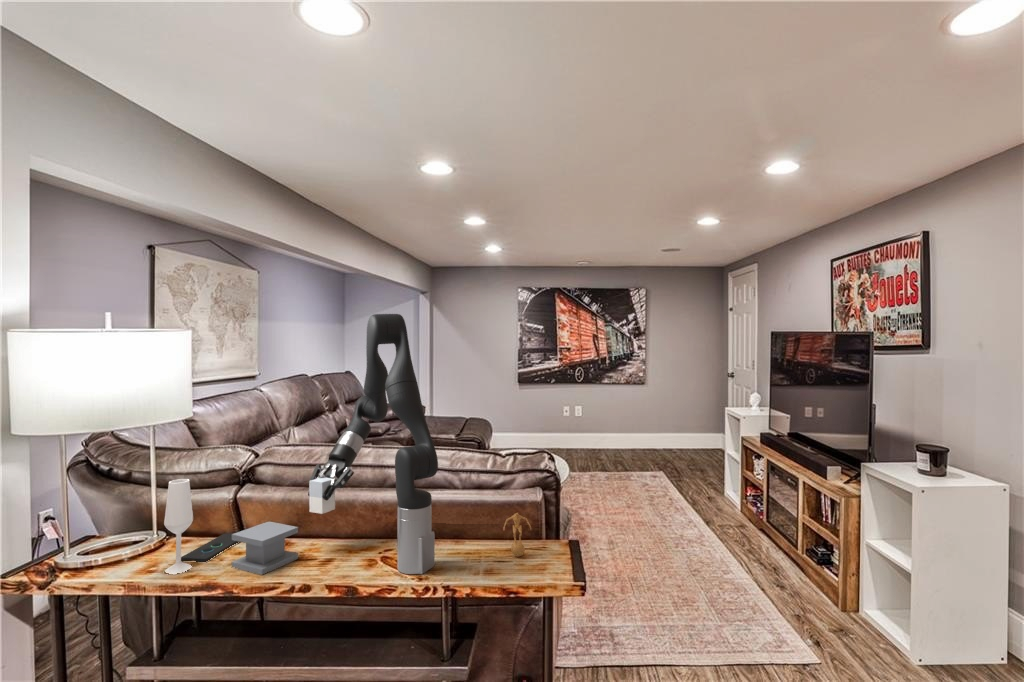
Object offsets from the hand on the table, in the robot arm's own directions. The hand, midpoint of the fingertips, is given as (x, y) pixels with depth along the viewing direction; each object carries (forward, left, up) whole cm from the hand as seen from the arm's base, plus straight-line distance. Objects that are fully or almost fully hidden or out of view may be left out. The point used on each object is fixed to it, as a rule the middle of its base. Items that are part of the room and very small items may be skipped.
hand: (317, 497), depth 151 cm
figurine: (-53, -25, -17) cm, 61 cm away
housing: (0, -2, -4) cm, 5 cm away
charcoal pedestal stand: (+9, +10, -17) cm, 22 cm away
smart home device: (+32, +9, -17) cm, 37 cm away
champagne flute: (+27, +23, -17) cm, 40 cm away
